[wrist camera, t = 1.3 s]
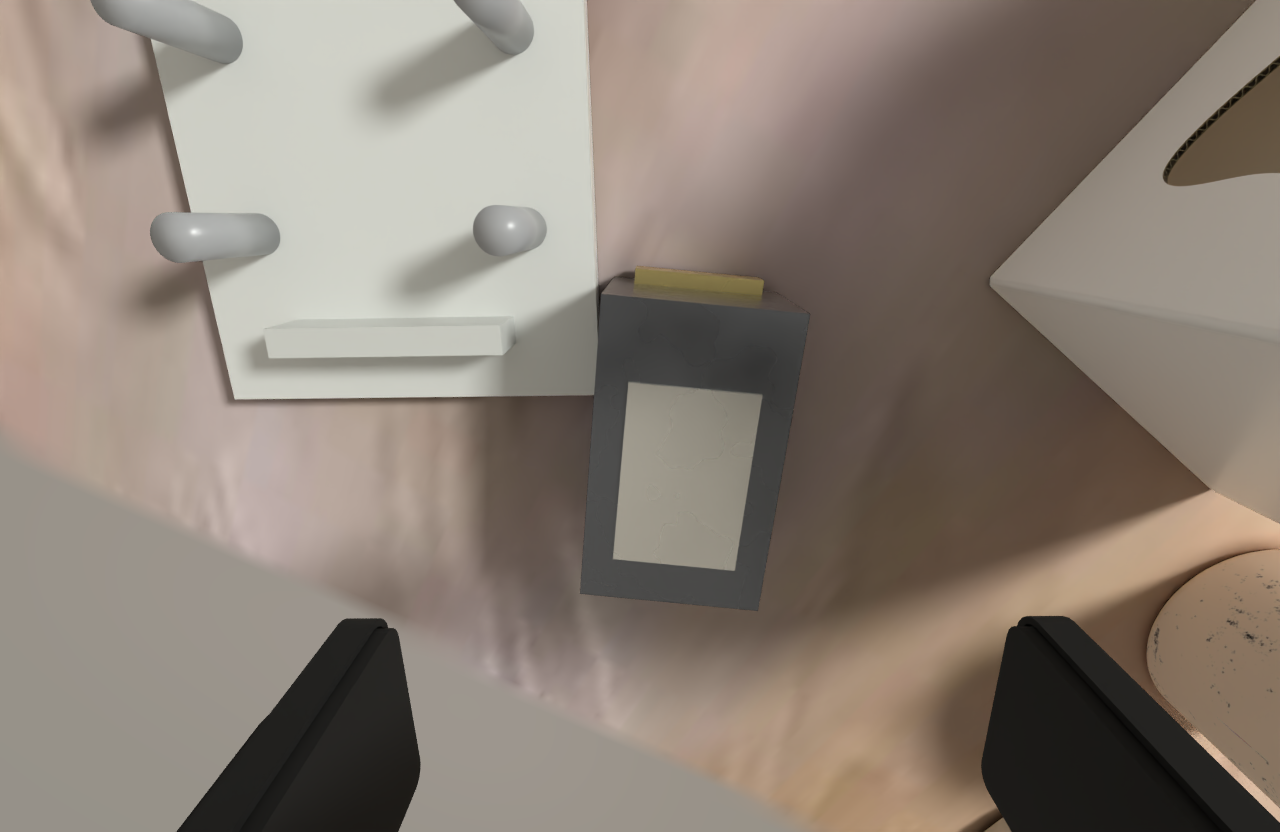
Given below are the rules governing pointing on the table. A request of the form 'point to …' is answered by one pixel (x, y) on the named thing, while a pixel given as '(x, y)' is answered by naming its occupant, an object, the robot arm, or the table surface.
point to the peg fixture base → (384, 191)
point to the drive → (688, 436)
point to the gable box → (1180, 268)
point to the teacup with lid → (1227, 661)
